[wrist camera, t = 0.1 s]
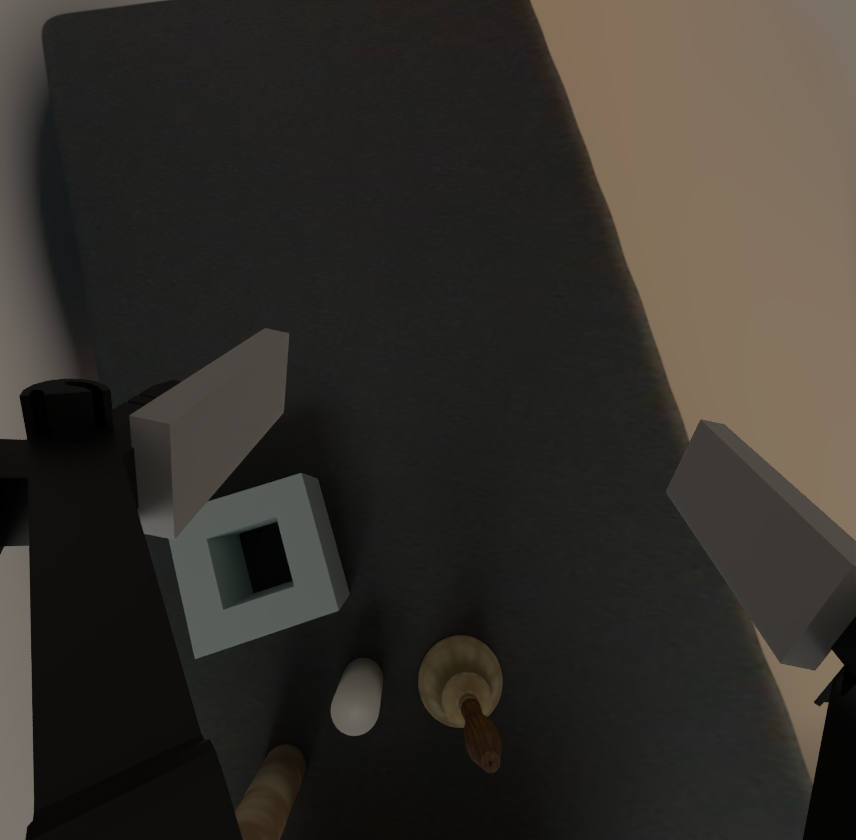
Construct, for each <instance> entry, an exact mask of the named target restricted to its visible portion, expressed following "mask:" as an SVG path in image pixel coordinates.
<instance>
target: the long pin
mask: <svg viewBox="0 0 856 840" xmlns="http://www.w3.org/2000/svg"><path fill="white" fill-rule="evenodd" d="M305 772H306V760H305V757H304V755H303V753H302V752H301V751H300V750H299V749H298V748H297V747H295V746H293V745H290V744H282V745H279V746H277V747H275V748H273V749H272V750H271V751H270V752H269V753H268V755H267V756H266V758H265V760H264V761H263V763H262V765H261V767H260V769H259V770H258V772H257V774H256V776H255V777H254V779H253V781H252V783H251V784H250V786H249V788H248V790H247V791H246V793H245V795H244V797H243V798H242V800H241V802H240V804H239V805H238V807H237V809H236V811H235V815H236V818H237V822H238V825H239V828H240V831H241V835H242V838H243V840H280V838H281V836H282V833H283V830H284V828H285V825H286V823H287V820H288V817H289V815H290V812H291V810H292V807H293V804H294V802H295V799H296V797H297V794H298V791H299V789H300V786H301V784H302V781H303V778H304V776H305Z"/></svg>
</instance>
